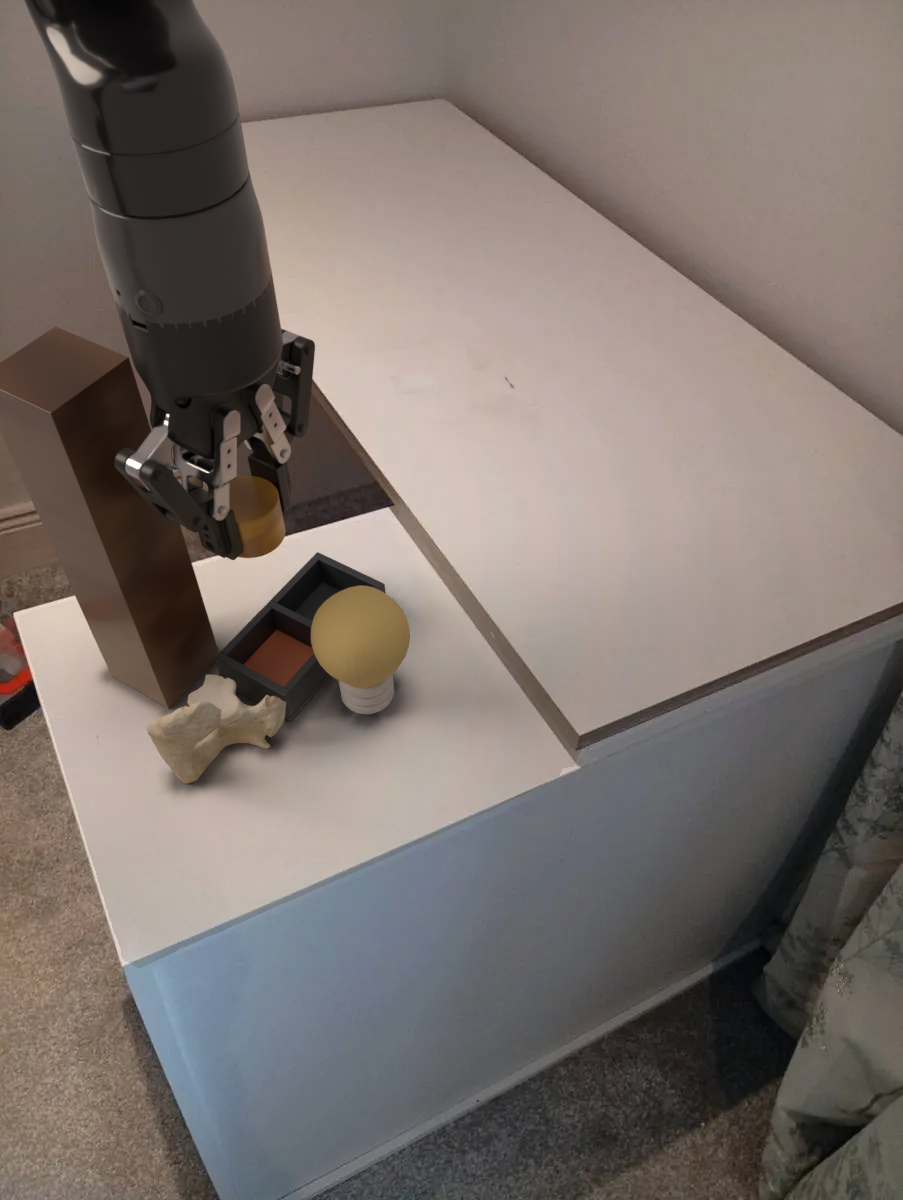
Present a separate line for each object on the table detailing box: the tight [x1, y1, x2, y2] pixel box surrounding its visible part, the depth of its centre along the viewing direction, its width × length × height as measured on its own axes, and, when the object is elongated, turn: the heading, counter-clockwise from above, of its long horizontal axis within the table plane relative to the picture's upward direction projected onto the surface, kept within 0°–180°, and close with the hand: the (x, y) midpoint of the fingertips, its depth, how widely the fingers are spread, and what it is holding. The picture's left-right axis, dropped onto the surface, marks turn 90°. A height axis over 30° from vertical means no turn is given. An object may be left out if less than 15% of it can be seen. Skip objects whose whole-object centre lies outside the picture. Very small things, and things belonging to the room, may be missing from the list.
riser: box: [0, 326, 220, 710], centre depth 61 cm, size 6×6×26 cm
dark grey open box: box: [215, 551, 386, 722], centre depth 71 cm, size 12×6×3 cm, turn 148°
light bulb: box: [311, 586, 411, 715], centre depth 65 cm, size 6×6×10 cm
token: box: [230, 475, 286, 559], centre depth 59 cm, size 4×4×3 cm
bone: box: [146, 673, 286, 785], centre depth 63 cm, size 9×6×10 cm
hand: (250, 527), depth 59 cm, fingers closed on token, 4 cm apart
